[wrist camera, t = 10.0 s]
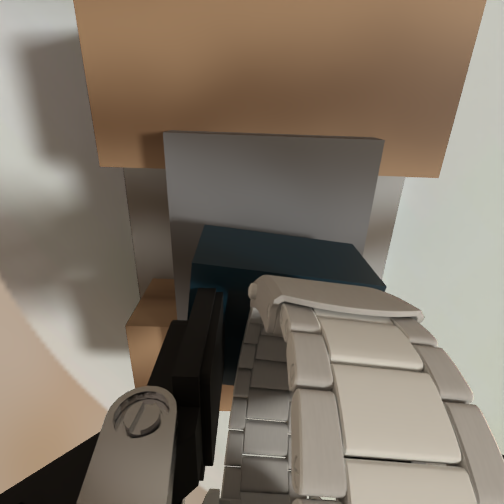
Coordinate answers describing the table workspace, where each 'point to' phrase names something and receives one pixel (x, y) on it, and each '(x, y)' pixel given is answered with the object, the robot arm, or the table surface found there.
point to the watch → (336, 382)
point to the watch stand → (266, 124)
